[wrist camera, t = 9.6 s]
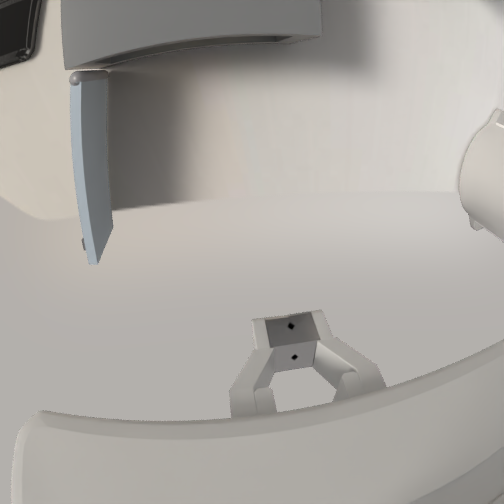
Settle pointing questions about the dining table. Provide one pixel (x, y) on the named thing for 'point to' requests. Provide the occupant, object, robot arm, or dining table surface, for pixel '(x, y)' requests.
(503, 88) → the dining table surface
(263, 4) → the box
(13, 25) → the phone
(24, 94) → the dining table surface
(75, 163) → the side door
